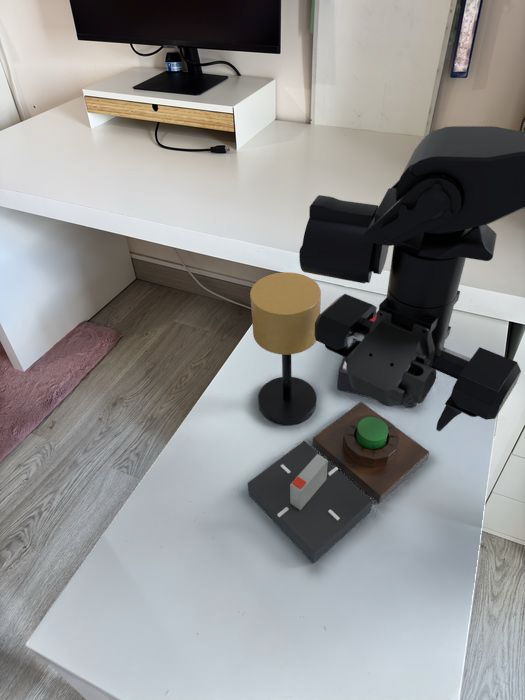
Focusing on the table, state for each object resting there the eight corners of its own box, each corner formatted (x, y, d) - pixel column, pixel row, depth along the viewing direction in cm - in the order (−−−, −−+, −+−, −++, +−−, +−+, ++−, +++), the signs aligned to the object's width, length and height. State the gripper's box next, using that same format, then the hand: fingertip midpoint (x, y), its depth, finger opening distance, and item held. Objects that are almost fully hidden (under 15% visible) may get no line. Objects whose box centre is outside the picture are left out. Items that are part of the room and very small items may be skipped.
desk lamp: (328, 404, 69) (335, 292, 56) (285, 435, 66) (282, 324, 53) (289, 373, 74) (287, 264, 61) (246, 401, 70) (235, 291, 57)
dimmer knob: (316, 472, 58) (317, 452, 56) (326, 479, 58) (328, 458, 55) (290, 503, 56) (289, 483, 53) (300, 510, 55) (300, 490, 52)
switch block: (427, 460, 62) (432, 443, 60) (379, 504, 58) (382, 487, 56) (359, 409, 68) (362, 392, 66) (312, 445, 64) (313, 428, 62)
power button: (392, 438, 61) (394, 429, 60) (372, 454, 59) (374, 446, 58) (369, 421, 63) (371, 412, 62) (350, 436, 61) (351, 427, 60)
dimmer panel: (371, 511, 57) (373, 499, 56) (313, 564, 53) (313, 552, 51) (304, 452, 64) (304, 439, 62) (247, 495, 60) (246, 482, 58)
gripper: (278, 297, 44) (283, 414, 54) (495, 391, 34) (450, 510, 45) (348, 241, 50) (340, 356, 60) (547, 308, 40) (497, 430, 51)
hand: (399, 407), depth 54 cm, fingers open, 9 cm apart
